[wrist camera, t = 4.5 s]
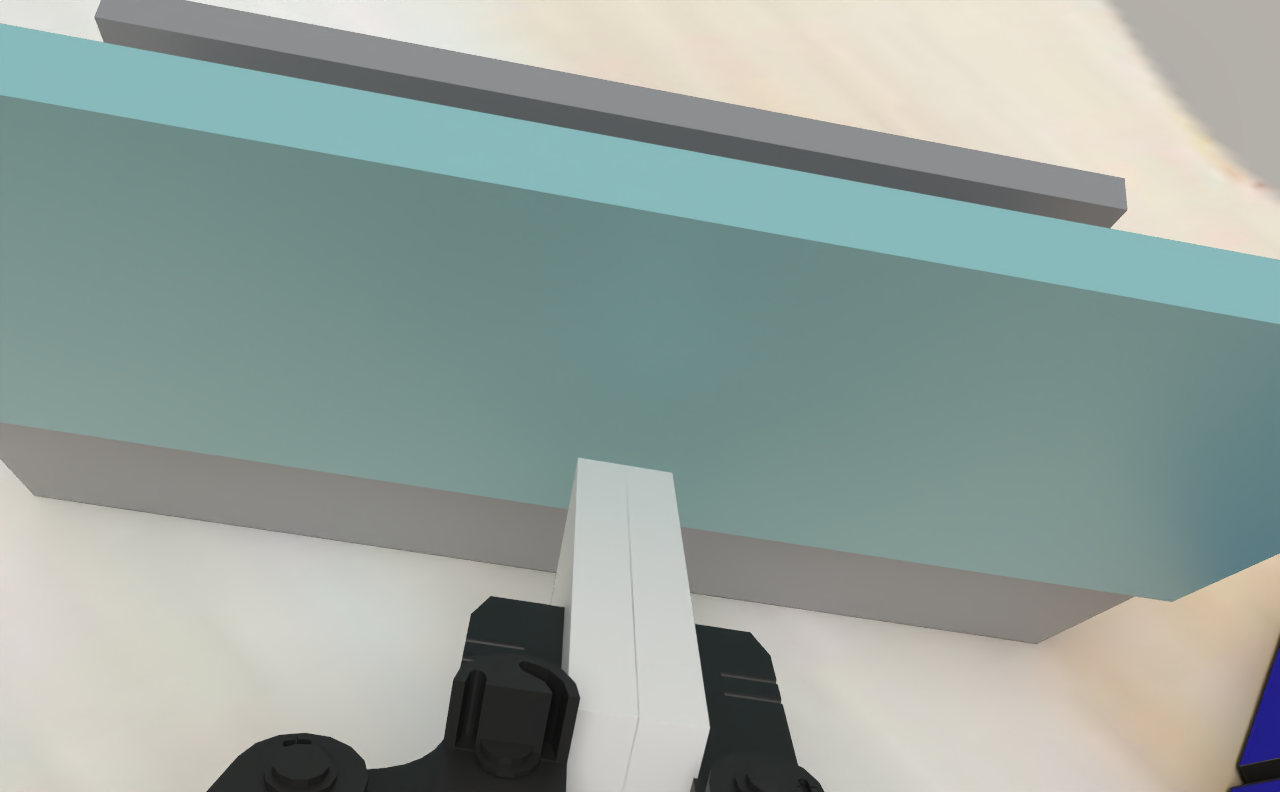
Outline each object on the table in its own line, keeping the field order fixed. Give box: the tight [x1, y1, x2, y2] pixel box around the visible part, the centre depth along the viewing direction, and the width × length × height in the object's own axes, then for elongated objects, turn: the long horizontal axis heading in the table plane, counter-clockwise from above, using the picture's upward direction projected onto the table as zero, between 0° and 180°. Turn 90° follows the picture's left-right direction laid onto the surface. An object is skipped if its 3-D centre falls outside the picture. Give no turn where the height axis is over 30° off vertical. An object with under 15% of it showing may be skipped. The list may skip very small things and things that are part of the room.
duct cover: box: [0, 23, 1280, 602], centre depth 19 cm, size 11×26×1 cm
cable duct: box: [0, 0, 1135, 644], centre depth 29 cm, size 11×26×6 cm, turn 84°
